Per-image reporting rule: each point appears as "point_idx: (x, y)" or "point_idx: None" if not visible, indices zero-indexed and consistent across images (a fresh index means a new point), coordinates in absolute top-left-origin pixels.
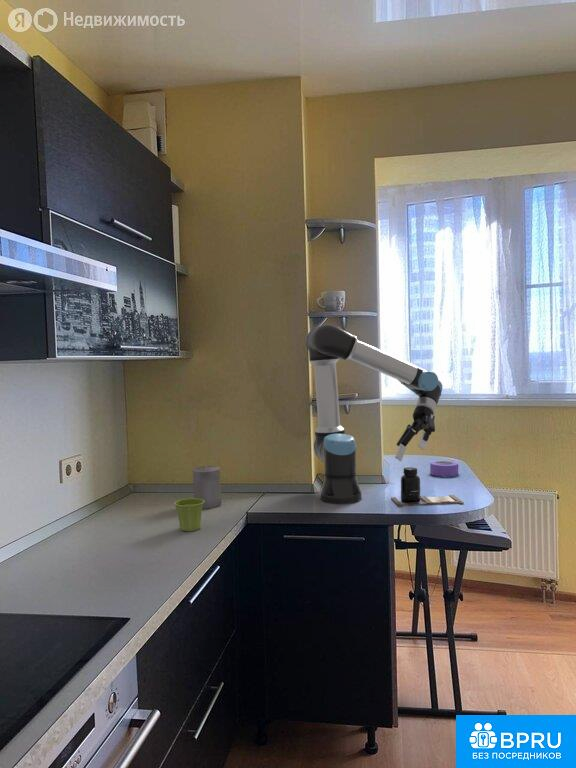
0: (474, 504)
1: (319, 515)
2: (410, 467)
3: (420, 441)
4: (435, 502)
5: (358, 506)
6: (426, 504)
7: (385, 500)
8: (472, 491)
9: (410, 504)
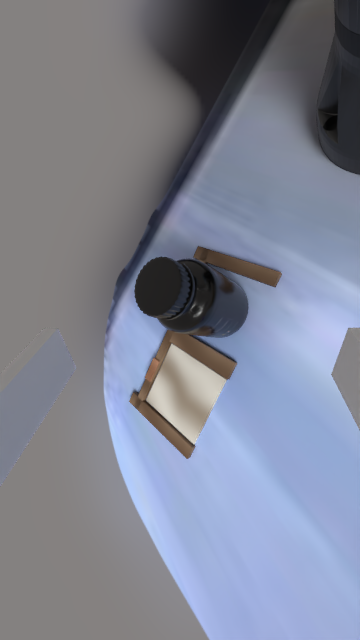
0: (119, 417)
1: (258, 26)
2: (170, 301)
3: (20, 356)
4: (163, 346)
5: (271, 143)
6: None
7: (280, 248)
8: (195, 570)
9: None
